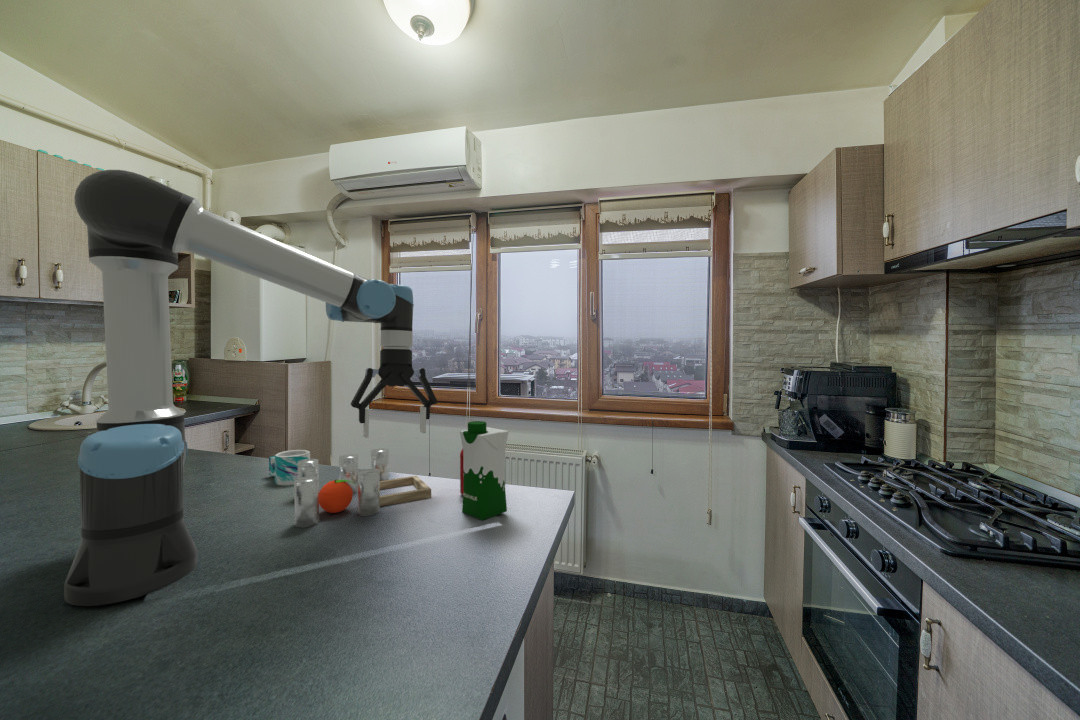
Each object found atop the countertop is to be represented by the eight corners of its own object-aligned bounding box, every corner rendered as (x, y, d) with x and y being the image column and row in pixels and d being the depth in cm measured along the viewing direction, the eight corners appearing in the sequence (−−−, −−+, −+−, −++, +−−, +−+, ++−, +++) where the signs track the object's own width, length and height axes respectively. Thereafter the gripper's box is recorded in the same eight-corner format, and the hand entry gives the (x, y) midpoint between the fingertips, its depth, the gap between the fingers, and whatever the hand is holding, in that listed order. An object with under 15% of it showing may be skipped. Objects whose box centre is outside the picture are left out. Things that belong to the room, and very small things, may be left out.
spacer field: (409, 508, 97) (409, 468, 96) (295, 529, 85) (294, 484, 85) (386, 480, 118) (386, 447, 117) (292, 494, 106) (292, 458, 106)
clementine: (355, 503, 100) (356, 473, 99) (359, 513, 94) (360, 481, 93) (317, 509, 96) (317, 477, 95) (318, 520, 90) (318, 486, 89)
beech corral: (431, 497, 104) (431, 489, 104) (373, 507, 97) (373, 498, 97) (416, 483, 115) (416, 475, 115) (364, 491, 108) (364, 483, 108)
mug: (287, 490, 109) (287, 457, 109) (258, 484, 114) (258, 452, 114) (316, 481, 116) (316, 451, 116) (288, 476, 122) (287, 446, 122)
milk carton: (456, 512, 94) (455, 421, 94) (487, 501, 101) (487, 417, 100) (481, 523, 88) (481, 426, 88) (513, 511, 95) (513, 421, 94)
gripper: (441, 349, 115) (439, 428, 115) (339, 347, 102) (338, 436, 102) (450, 349, 109) (449, 433, 109) (342, 346, 96) (341, 441, 96)
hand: (395, 434), depth 106 cm, fingers open, 13 cm apart
